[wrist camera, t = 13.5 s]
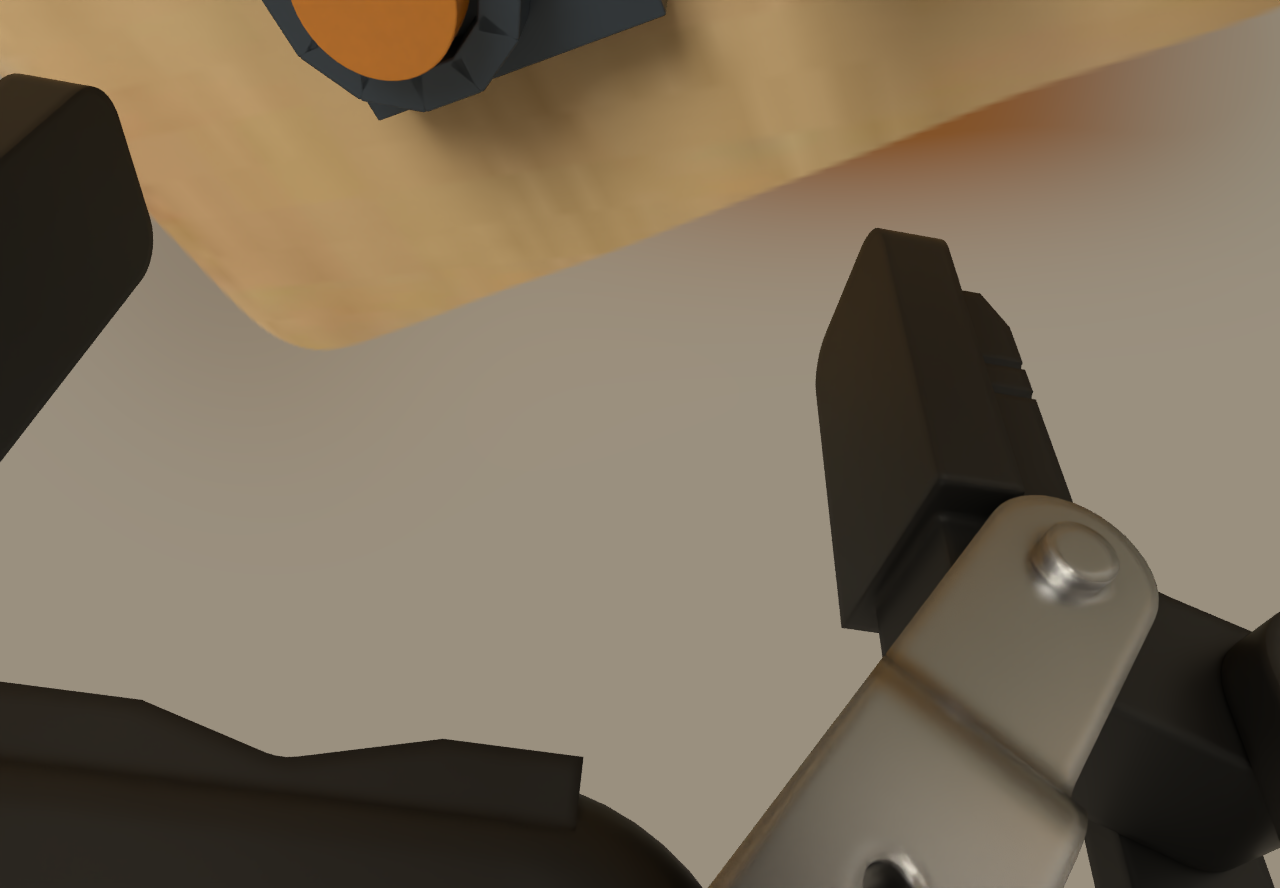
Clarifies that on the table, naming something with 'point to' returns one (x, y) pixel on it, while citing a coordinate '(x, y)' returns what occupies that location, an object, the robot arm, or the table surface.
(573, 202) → the table surface
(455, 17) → the button
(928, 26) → the table surface
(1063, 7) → the table surface
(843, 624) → the robot arm
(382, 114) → the button box
